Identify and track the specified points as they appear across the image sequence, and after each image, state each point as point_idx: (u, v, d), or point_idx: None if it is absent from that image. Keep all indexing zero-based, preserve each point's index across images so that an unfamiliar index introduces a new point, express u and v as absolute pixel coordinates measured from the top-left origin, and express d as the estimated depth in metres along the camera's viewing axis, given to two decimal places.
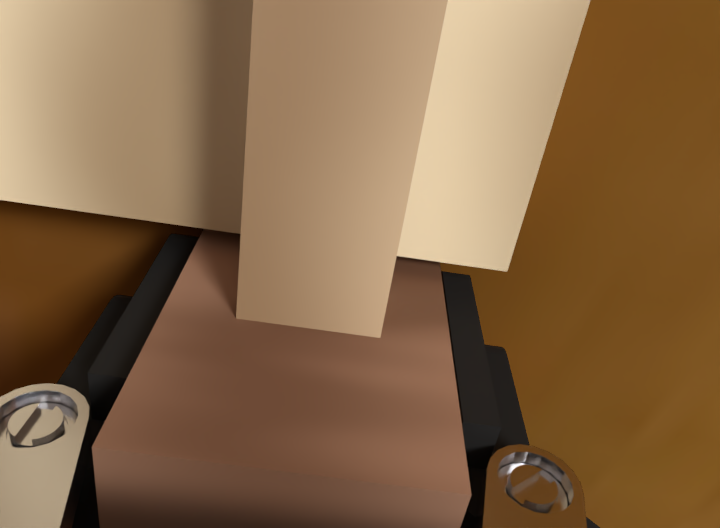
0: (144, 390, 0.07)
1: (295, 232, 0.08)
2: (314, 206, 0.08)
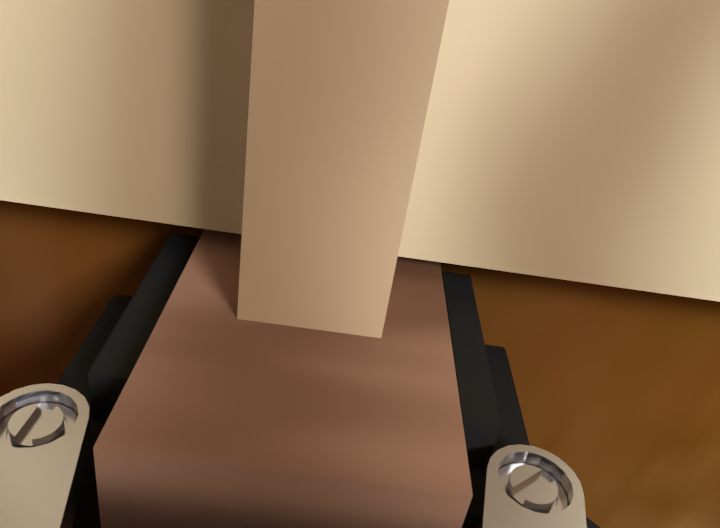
0: (145, 390, 0.07)
1: (296, 232, 0.08)
2: (315, 206, 0.08)
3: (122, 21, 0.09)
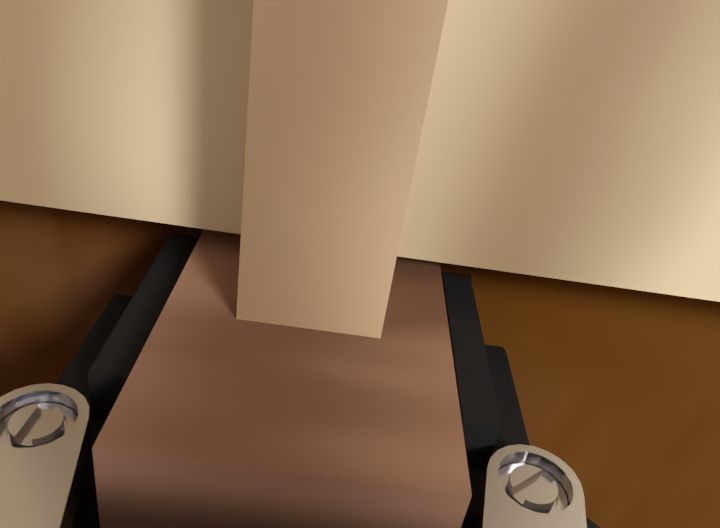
0: (144, 391, 0.07)
1: (295, 233, 0.08)
2: (314, 206, 0.08)
3: (532, 84, 0.09)
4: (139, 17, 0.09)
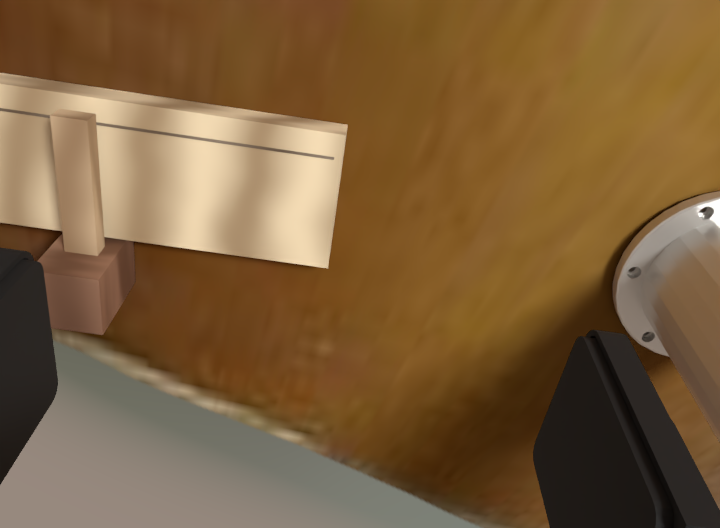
0: None
1: (73, 232, 0.39)
2: (76, 226, 0.39)
3: (131, 198, 0.40)
4: (42, 184, 0.39)
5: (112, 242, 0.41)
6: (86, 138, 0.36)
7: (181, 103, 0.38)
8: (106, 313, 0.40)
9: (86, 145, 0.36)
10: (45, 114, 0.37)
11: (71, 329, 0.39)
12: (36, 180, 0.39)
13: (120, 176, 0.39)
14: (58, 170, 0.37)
